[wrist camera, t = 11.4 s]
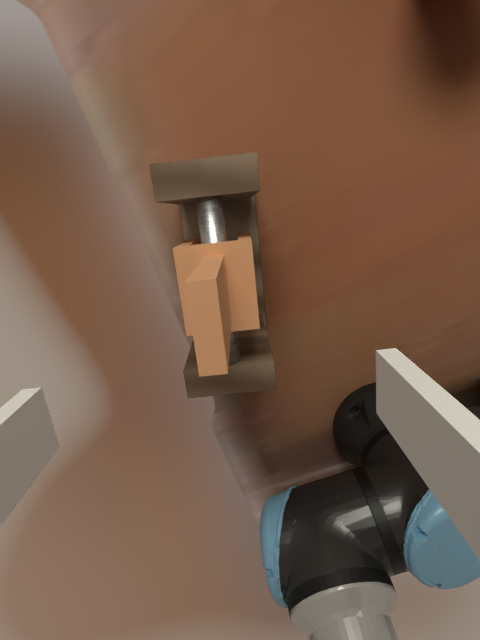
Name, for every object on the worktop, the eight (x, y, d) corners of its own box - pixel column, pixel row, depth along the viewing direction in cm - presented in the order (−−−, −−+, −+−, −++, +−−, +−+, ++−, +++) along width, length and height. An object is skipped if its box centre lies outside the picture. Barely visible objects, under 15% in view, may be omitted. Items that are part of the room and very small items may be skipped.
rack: (266, 330, 54) (281, 388, 36) (199, 337, 54) (182, 398, 37) (252, 173, 48) (262, 151, 30) (176, 181, 48) (143, 165, 30)
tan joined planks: (254, 298, 44) (269, 384, 23) (199, 304, 44) (162, 394, 23) (248, 231, 42) (257, 256, 20) (190, 238, 42) (138, 269, 21)
